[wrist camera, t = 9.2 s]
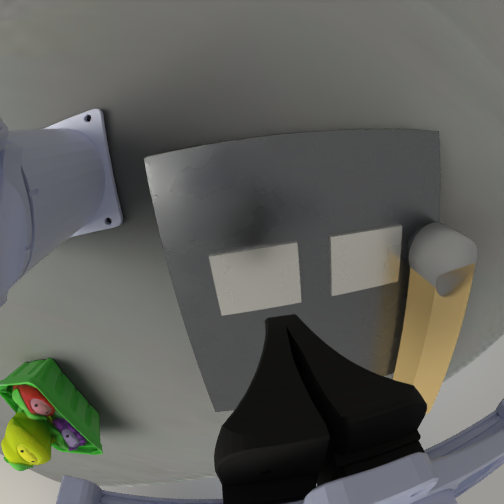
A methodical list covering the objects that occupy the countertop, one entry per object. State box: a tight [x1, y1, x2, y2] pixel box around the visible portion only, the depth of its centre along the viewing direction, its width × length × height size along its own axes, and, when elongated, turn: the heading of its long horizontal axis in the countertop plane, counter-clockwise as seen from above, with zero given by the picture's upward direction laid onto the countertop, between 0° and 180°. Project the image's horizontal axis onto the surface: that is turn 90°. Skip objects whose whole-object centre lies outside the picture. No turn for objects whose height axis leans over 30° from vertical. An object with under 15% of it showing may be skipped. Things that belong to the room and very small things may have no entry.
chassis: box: [144, 129, 440, 412], centre depth 20 cm, size 18×20×4 cm
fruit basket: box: [0, 358, 103, 471], centre depth 19 cm, size 11×9×11 cm
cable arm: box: [393, 222, 478, 414], centre depth 19 cm, size 18×4×3 cm, turn 9°
